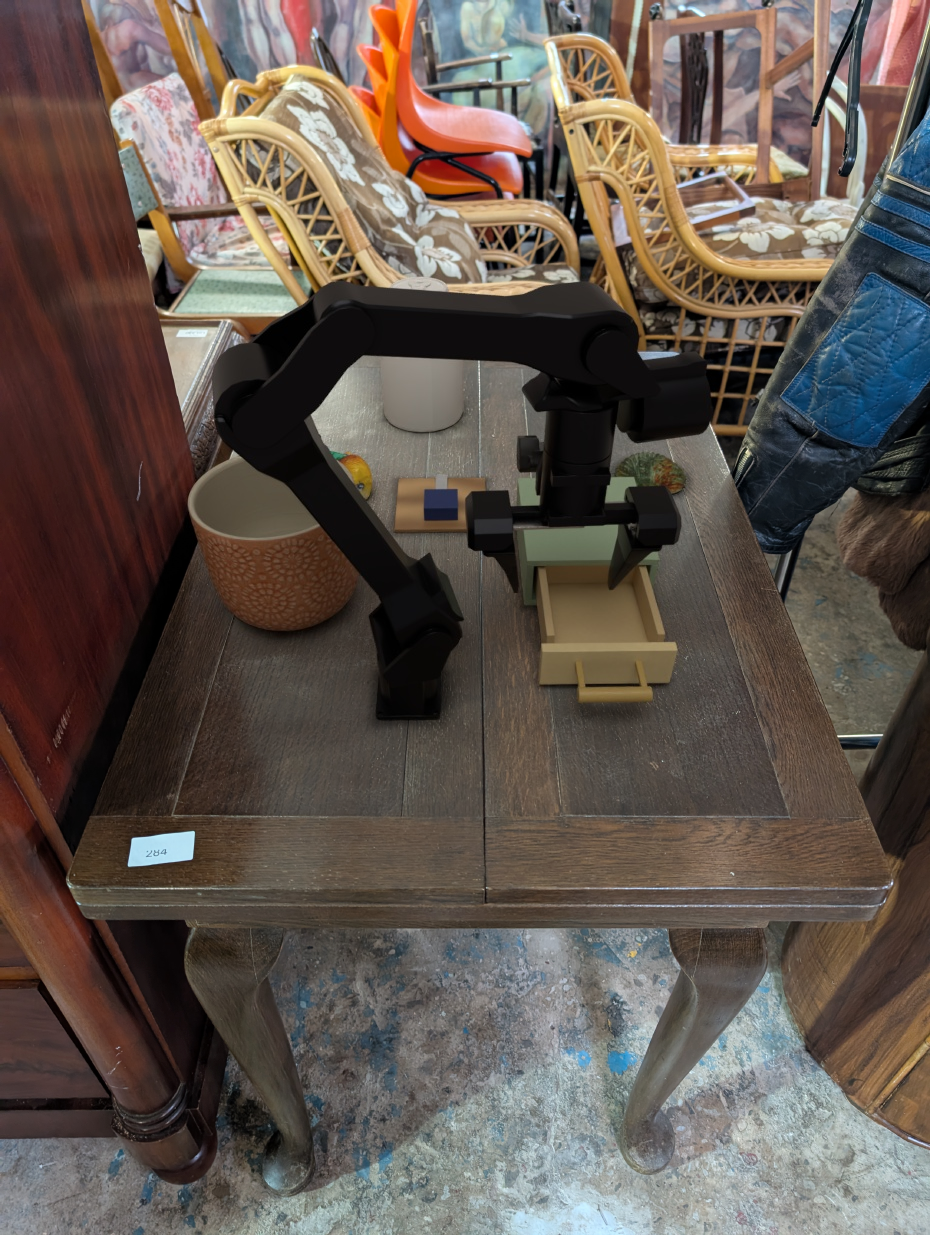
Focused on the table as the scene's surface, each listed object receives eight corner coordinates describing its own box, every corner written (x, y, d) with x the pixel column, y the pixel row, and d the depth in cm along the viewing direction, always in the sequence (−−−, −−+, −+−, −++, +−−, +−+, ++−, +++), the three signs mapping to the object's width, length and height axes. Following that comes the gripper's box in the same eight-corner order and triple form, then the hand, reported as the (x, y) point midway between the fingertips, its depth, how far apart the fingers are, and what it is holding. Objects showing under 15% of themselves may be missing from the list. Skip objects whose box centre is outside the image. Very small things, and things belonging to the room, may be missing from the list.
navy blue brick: (458, 520, 103) (457, 507, 102) (424, 520, 103) (423, 508, 102) (457, 480, 110) (457, 467, 109) (425, 480, 110) (425, 468, 109)
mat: (487, 531, 102) (487, 528, 102) (394, 532, 102) (394, 529, 102) (484, 480, 111) (484, 477, 111) (398, 481, 111) (398, 478, 110)
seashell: (698, 443, 110) (677, 479, 103) (694, 469, 112) (674, 505, 106) (628, 431, 114) (603, 465, 107) (626, 457, 116) (602, 491, 110)
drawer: (680, 720, 78) (689, 687, 74) (543, 722, 78) (546, 689, 74) (642, 585, 93) (649, 552, 89) (528, 586, 93) (530, 554, 89)
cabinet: (650, 604, 92) (659, 559, 87) (524, 605, 92) (527, 560, 87) (626, 519, 104) (634, 476, 99) (515, 521, 104) (517, 477, 99)
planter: (397, 601, 92) (388, 490, 82) (274, 676, 83) (247, 563, 73) (310, 538, 101) (292, 431, 91) (191, 599, 92) (156, 489, 82)
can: (388, 395, 130) (379, 268, 116) (465, 396, 129) (464, 269, 116) (379, 433, 120) (368, 301, 107) (461, 435, 120) (461, 302, 106)
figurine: (380, 496, 108) (376, 455, 104) (333, 517, 104) (327, 476, 100) (333, 463, 114) (328, 423, 110) (287, 481, 111) (280, 442, 107)
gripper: (666, 398, 72) (641, 535, 83) (462, 403, 72) (462, 541, 82) (698, 463, 64) (665, 606, 75) (468, 470, 64) (468, 613, 74)
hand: (562, 588), depth 77 cm, fingers open, 9 cm apart
